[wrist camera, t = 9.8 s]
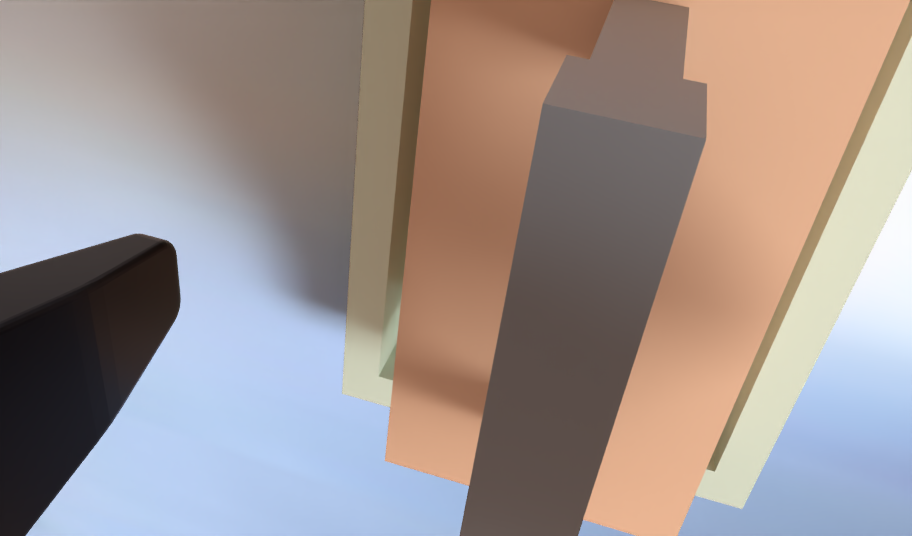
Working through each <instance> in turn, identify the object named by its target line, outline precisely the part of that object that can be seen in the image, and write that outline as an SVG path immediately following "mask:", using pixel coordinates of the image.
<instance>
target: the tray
mask: <svg viewBox="0 0 912 536" xmlns="http://www.w3.org/2000/svg"><path fill="white" fill-rule="evenodd" d="M430 6H431V0H365V3H364V20H363V38H362V55H361V73H360V90H359V108H358V125H357V143H356V160H355V178H354V195H353V212H352V230H351V247H350V265H349V282H348V300H347V317H346V335H345V352H344V370H343V387H342V394H345V395H349V396H352V397H356V398H359V399H363V400H366V401H370V402H373V403H377V404H380V405H384V406H387V407H390V406H391V396H392V386H393V376H394V366H395V356H396V346H397V336H398V326H399V316H400V306H401V296H402V286H403V276H404V266H405V256H406V246H407V236H408V226H409V216H410V206H411V196H412V186H413V176H414V166H415V156H416V146H417V136H418V126H419V116H420V106H421V96H422V86H423V76H424V66H425V56H426V46H427V36H428V26H429V16H430ZM911 170H912V0H910V2H909V5H908V7H907V9H906V11H905V14H904V16H903V18H902V21H901V23H900V25H899V27H898V30H897V32H896V34H895V37H894V39H893V41H892V44H891V46H890V48H889V50H888V53H887V55H886V57H885V60H884V62H883V64H882V67H881V69H880V71H879V73H878V76H877V78H876V80H875V83H874V85H873V87H872V89H871V92H870V94H869V96H868V99H867V101H866V103H865V106H864V108H863V110H862V112H861V115H860V117H859V119H858V122H857V124H856V126H855V129H854V131H853V133H852V135H851V138H850V140H849V142H848V145H847V147H846V149H845V151H844V154H843V156H842V158H841V161H840V163H839V165H838V168H837V170H836V172H835V174H834V177H833V179H832V181H831V184H830V186H829V188H828V191H827V193H826V195H825V197H824V200H823V202H822V204H821V207H820V209H819V211H818V214H817V216H816V218H815V220H814V223H813V225H812V227H811V230H810V232H809V234H808V236H807V239H806V241H805V243H804V246H803V248H802V250H801V253H800V255H799V257H798V259H797V262H796V264H795V266H794V269H793V271H792V273H791V276H790V278H789V280H788V282H787V285H786V287H785V289H784V292H783V294H782V296H781V298H780V301H779V303H778V305H777V308H776V310H775V312H774V315H773V317H772V319H771V321H770V324H769V326H768V328H767V331H766V333H765V335H764V338H763V340H762V342H761V344H760V347H759V349H758V351H757V354H756V356H755V358H754V360H753V363H752V365H751V367H750V370H749V372H748V374H747V377H746V379H745V381H744V383H743V386H742V388H741V390H740V393H739V395H738V397H737V400H736V402H735V404H734V406H733V409H732V411H731V413H730V416H729V418H728V420H727V423H726V425H725V427H724V429H723V432H722V434H721V436H720V439H719V441H718V443H717V445H716V448H715V450H714V452H713V455H712V457H711V459H710V462H709V464H708V466H707V468H706V471H705V473H704V475H703V478H702V480H701V482H700V485H699V487H698V489H697V491H696V494H695V496H699V497H702V498H706V499H709V500H713V501H716V502H720V503H723V504H726V505H730V506H733V507H737V508H740V509H742V508H743V506H744V504H745V502H746V500H747V498H748V496H749V494H750V492H751V490H752V488H753V486H754V484H755V482H756V480H757V478H758V476H759V474H760V472H761V470H762V468H763V466H764V464H765V462H766V460H767V458H768V456H769V454H770V452H771V450H772V448H773V446H774V444H775V442H776V440H777V438H778V436H779V434H780V432H781V430H782V428H783V426H784V424H785V422H786V420H787V418H788V416H789V414H790V412H791V410H792V408H793V406H794V404H795V402H796V400H797V398H798V396H799V394H800V392H801V390H802V388H803V386H804V384H805V382H806V380H807V378H808V376H809V374H810V372H811V370H812V368H813V366H814V364H815V362H816V360H817V358H818V356H819V354H820V352H821V350H822V348H823V346H824V344H825V342H826V340H827V338H828V336H829V334H830V332H831V330H832V328H833V326H834V324H835V322H836V320H837V318H838V316H839V314H840V312H841V310H842V308H843V306H844V304H845V302H846V300H847V298H848V296H849V294H850V292H851V290H852V288H853V286H854V284H855V282H856V280H857V278H858V276H859V274H860V272H861V270H862V268H863V266H864V264H865V262H866V260H867V258H868V256H869V254H870V252H871V250H872V248H873V246H874V244H875V242H876V240H877V238H878V236H879V234H880V232H881V230H882V228H883V226H884V224H885V222H886V220H887V218H888V216H889V214H890V212H891V210H892V208H893V206H894V204H895V202H896V200H897V198H898V196H899V194H900V192H901V190H902V188H903V186H904V184H905V182H906V180H907V178H908V176H909V174H910V172H911Z"/></svg>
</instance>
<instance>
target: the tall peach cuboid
mask: <svg viewBox="0 0 912 536" xmlns="http://www.w3.org/2000/svg"><path fill="white" fill-rule="evenodd" d="M909 2H910V0H431V6H430V16H429V26H428V36H427V46H426V56H425V66H424V76H423V86H422V96H421V106H420V116H419V126H418V136H417V146H416V156H415V166H414V176H413V186H412V196H411V206H410V216H409V226H408V236H407V246H406V256H405V266H404V276H403V286H402V296H401V306H400V316H399V326H398V336H397V346H396V356H395V366H394V376H393V386H392V396H391V406H390V416H389V426H388V436H387V446H386V456H385V461H387V462H391V463H394V464H397V465H401V466H404V467H407V468H411V469H414V470H418V471H421V472H424V473H428V474H431V475H434V476H438V477H441V478H445V479H448V480H451V481H455V482H458V483H461V484H465V485H468V486H469V490H468V495H467V500H466V505H465V511H464V516H463V521H462V526H461V532H460V536H578V534H579V530H580V527H581V524H582V521H583V520H586V521H589V522H593V523H596V524H599V525H603V526H606V527H610V528H613V529H616V530H620V531H623V532H626V533H630V534H633V535H636V536H677V535H678V533H679V530H680V528H681V526H682V524H683V521H684V519H685V517H686V514H687V512H688V510H689V507H690V505H691V503H692V501H693V498H694V496H695V494H696V491H697V489H698V487H699V485H700V482H701V480H702V478H703V475H704V473H705V471H706V468H707V466H708V464H709V462H710V459H711V457H712V455H713V452H714V450H715V448H716V445H717V443H718V441H719V439H720V436H721V434H722V432H723V429H724V427H725V425H726V423H727V420H728V418H729V416H730V413H731V411H732V409H733V406H734V404H735V402H736V400H737V397H738V395H739V393H740V390H741V388H742V386H743V383H744V381H745V379H746V377H747V374H748V372H749V370H750V367H751V365H752V363H753V360H754V358H755V356H756V354H757V351H758V349H759V347H760V344H761V342H762V340H763V338H764V335H765V333H766V331H767V328H768V326H769V324H770V321H771V319H772V317H773V315H774V312H775V310H776V308H777V305H778V303H779V301H780V298H781V296H782V294H783V292H784V289H785V287H786V285H787V282H788V280H789V278H790V276H791V273H792V271H793V269H794V266H795V264H796V262H797V259H798V257H799V255H800V253H801V250H802V248H803V246H804V243H805V241H806V239H807V236H808V234H809V232H810V230H811V227H812V225H813V223H814V220H815V218H816V216H817V214H818V211H819V209H820V207H821V204H822V202H823V200H824V197H825V195H826V193H827V191H828V188H829V186H830V184H831V181H832V179H833V177H834V174H835V172H836V170H837V168H838V165H839V163H840V161H841V158H842V156H843V154H844V151H845V149H846V147H847V145H848V142H849V140H850V138H851V135H852V133H853V131H854V129H855V126H856V124H857V122H858V119H859V117H860V115H861V112H862V110H863V108H864V106H865V103H866V101H867V99H868V96H869V94H870V92H871V89H872V87H873V85H874V83H875V80H876V78H877V76H878V73H879V71H880V69H881V67H882V64H883V62H884V60H885V57H886V55H887V53H888V50H889V48H890V46H891V44H892V41H893V39H894V37H895V34H896V32H897V30H898V27H899V25H900V23H901V21H902V18H903V16H904V14H905V11H906V9H907V7H908V5H909Z"/></svg>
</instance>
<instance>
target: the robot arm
mask: <svg viewBox="0 0 912 536" xmlns="http://www.w3.org/2000/svg"><path fill="white" fill-rule="evenodd" d="M179 308H180V287H179V276H178V265H177V255H176V250H175V248H174V246H173V245H172V244H171V243H170V242H169V241H167V240H163V239H160V238H156V237H152V236H148V235H145V234H132V235H129V236H126V237H122V238H119V239H115V240H112V241H108V242H105V243H102V244H98V245H95V246H91V247H88V248H84V249H81V250H78V251H74V252H71V253H67V254H64V255H60V256H57V257H53V258H50V259H47V260H43V261H40V262H36V263H33V264H29V265H26V266H23V267H19V268H16V269H12V270H9V271H5V272H2V273H0V536H26V534H27V533H28V532H29V530H30V529H31V528H32V526H33V525H34V524H35V523H36V521H37V520H38V519H39V517H40V516H41V515H42V514H43V512H44V511H45V510H46V508H47V507H48V506H49V504H50V503H51V502H52V501H53V499H54V498H55V497H56V495H57V494H58V493H59V492H60V490H61V489H62V488H63V486H64V485H65V484H66V482H67V481H68V480H69V479H70V477H71V476H72V475H73V473H74V472H75V471H76V470H77V468H78V467H79V466H80V464H81V463H82V462H83V460H84V459H85V458H86V457H87V455H88V454H89V453H90V451H91V450H92V449H93V448H94V446H95V445H96V444H97V442H98V441H99V440H100V438H101V437H102V436H103V434H104V433H105V432H106V430H107V429H108V427H109V426H110V425H111V423H112V422H113V420H114V419H115V417H116V416H117V414H118V413H119V411H120V410H121V408H122V407H123V405H124V403H125V402H126V400H127V398H128V397H129V395H130V393H131V392H132V390H133V389H134V387H135V385H136V384H137V382H138V380H139V379H140V377H141V375H142V374H143V372H144V371H145V369H146V367H147V366H148V364H149V362H150V361H151V359H152V357H153V356H154V354H155V353H156V351H157V349H158V348H159V346H160V344H161V343H162V341H163V340H164V338H165V336H166V335H167V333H168V331H169V330H170V328H171V326H172V325H173V323H174V321H175V319H176V317H177V315H178V312H179Z"/></svg>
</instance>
